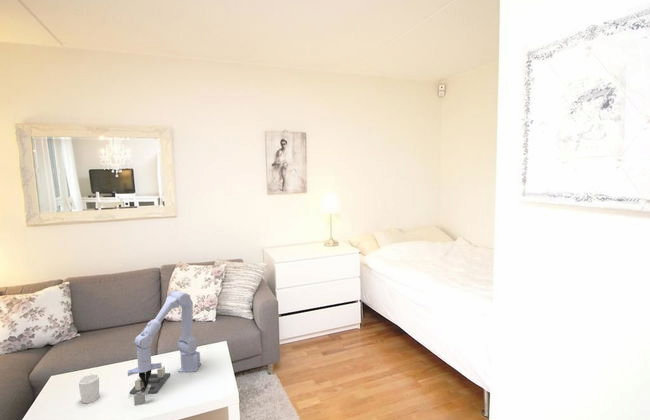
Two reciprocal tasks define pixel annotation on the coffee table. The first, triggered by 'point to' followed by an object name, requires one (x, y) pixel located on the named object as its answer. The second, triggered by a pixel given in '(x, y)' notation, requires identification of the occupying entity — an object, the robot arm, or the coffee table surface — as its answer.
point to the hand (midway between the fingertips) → (146, 385)
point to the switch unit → (153, 384)
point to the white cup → (89, 388)
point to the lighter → (141, 396)
